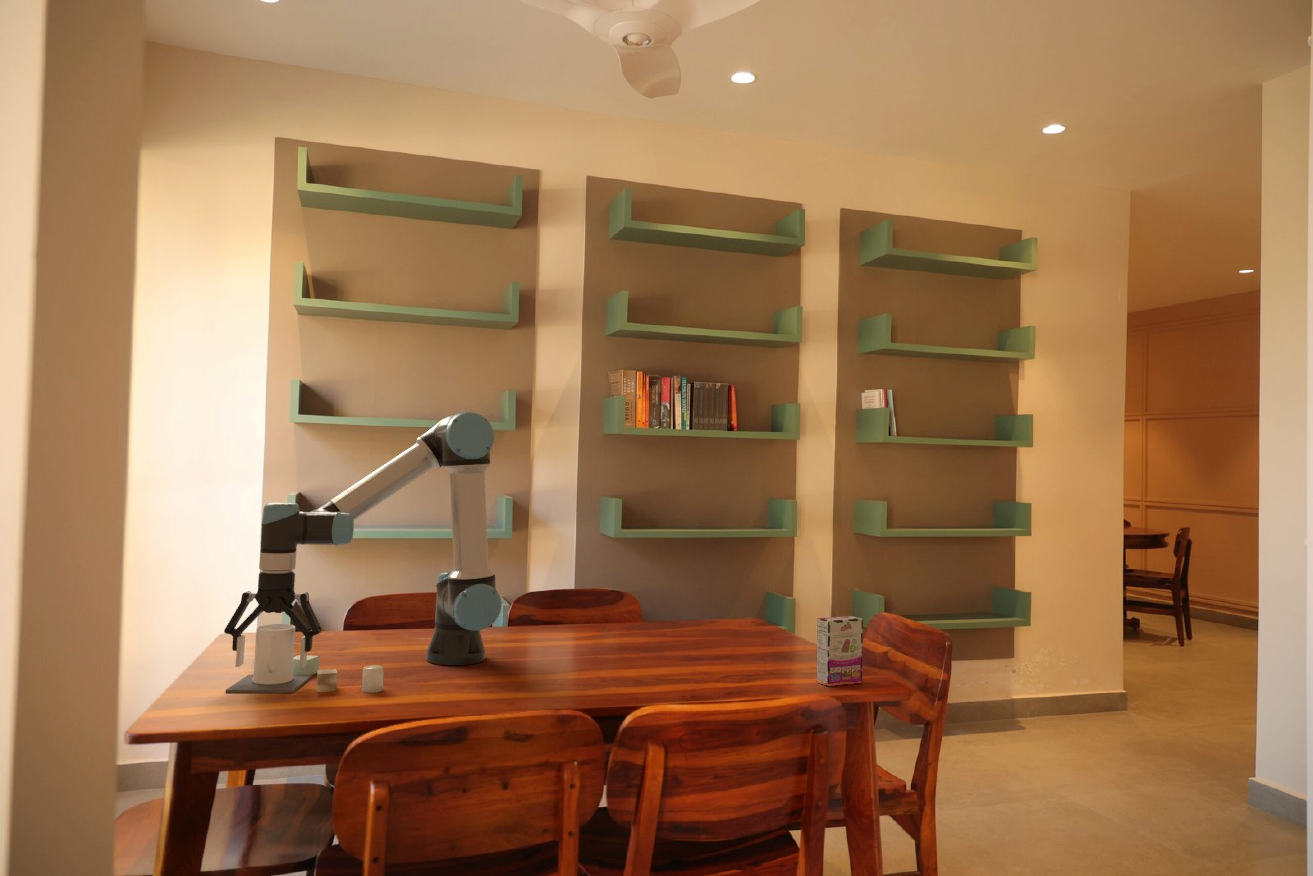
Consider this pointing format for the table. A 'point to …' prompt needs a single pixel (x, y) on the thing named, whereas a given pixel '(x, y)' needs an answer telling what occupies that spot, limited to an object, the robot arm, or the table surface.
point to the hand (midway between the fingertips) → (271, 666)
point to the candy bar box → (839, 649)
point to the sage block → (310, 666)
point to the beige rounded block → (372, 679)
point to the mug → (274, 654)
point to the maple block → (326, 680)
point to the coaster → (250, 687)
